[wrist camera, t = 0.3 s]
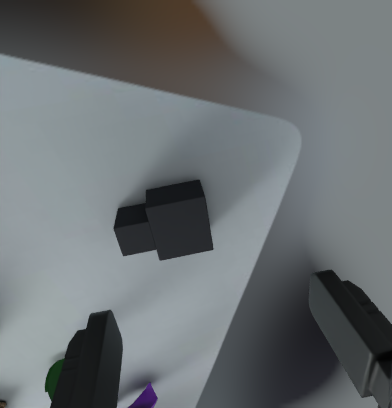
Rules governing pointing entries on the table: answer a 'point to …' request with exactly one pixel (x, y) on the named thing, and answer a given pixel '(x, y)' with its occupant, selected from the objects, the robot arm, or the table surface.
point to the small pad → (166, 222)
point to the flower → (142, 404)
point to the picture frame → (2, 405)
